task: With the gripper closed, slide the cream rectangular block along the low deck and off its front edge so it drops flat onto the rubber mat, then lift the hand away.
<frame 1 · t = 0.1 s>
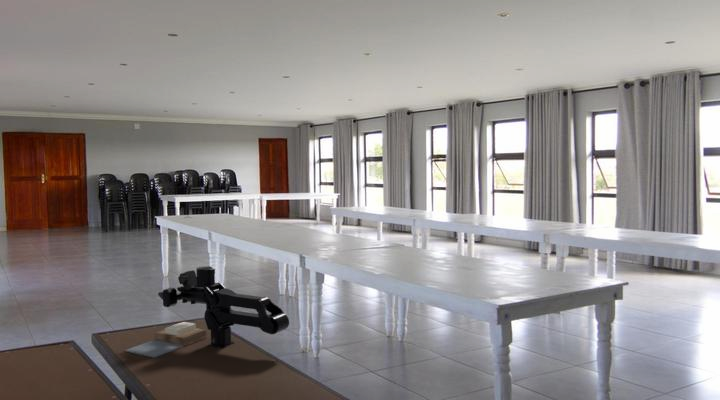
hand: (168, 291, 214), 16 cm above the table, tool horizontal, fingers open, 9 cm apart
mat: (154, 349, 198), on the table
deck: (180, 339, 208), on the table
cream rectangular block: (180, 331, 208), point 3 cm above the table, touching deck
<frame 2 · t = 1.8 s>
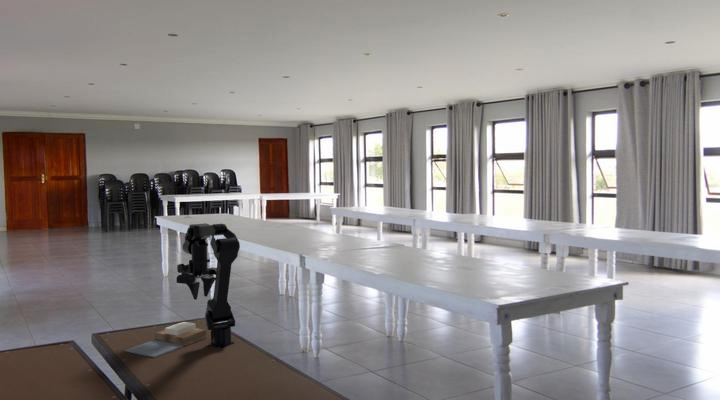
hand: (200, 297, 217), 13 cm above the table, tool pointing down, fingers open, 5 cm apart
nothing on the table moved.
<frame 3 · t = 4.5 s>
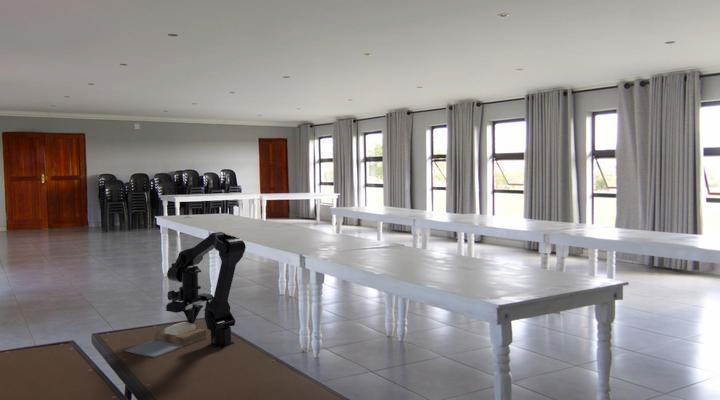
hand: (191, 325, 213), 4 cm above the table, tool pointing down, fingers closed
cream rectangular block: (180, 331, 208), point 3 cm above the table, touching deck, gripper
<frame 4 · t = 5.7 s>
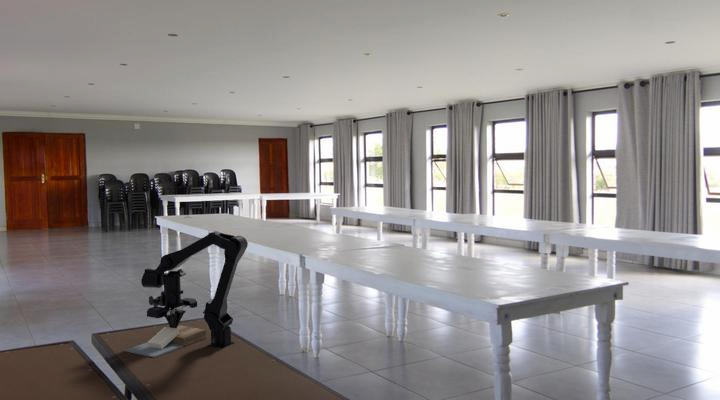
hand: (173, 331, 205), 4 cm above the table, tool pointing down, fingers closed
cream rectangular block: (164, 340, 201), point 2 cm above the table, tilted 20°, touching gripper, mat
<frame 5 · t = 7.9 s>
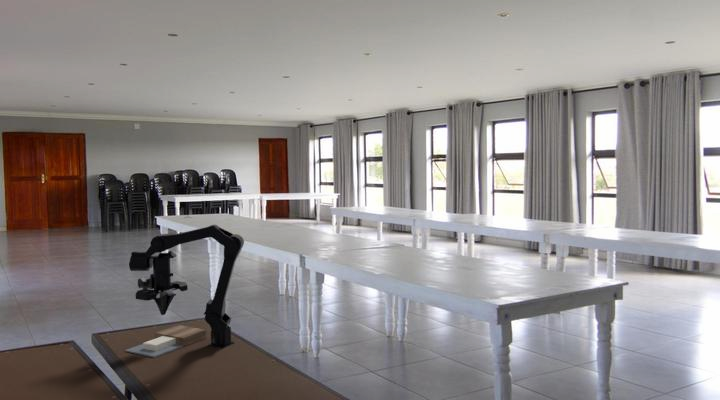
hand: (163, 314, 201), 11 cm above the table, tool pointing down, fingers closed
cream rectangular block: (159, 346, 199), resting on mat
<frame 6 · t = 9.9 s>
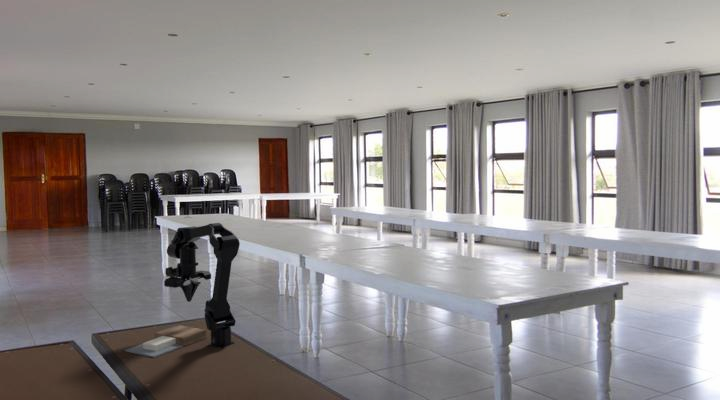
hand: (189, 301, 216), 12 cm above the table, tool pointing down, fingers closed
nothing on the table moved.
at the end: cream rectangular block inside the target area on the mat (2.5 cm from its centre), point 0.5 cm above the mat's base; cream rectangular block point 0.5 cm above the table; cream rectangular block tilted 0° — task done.
